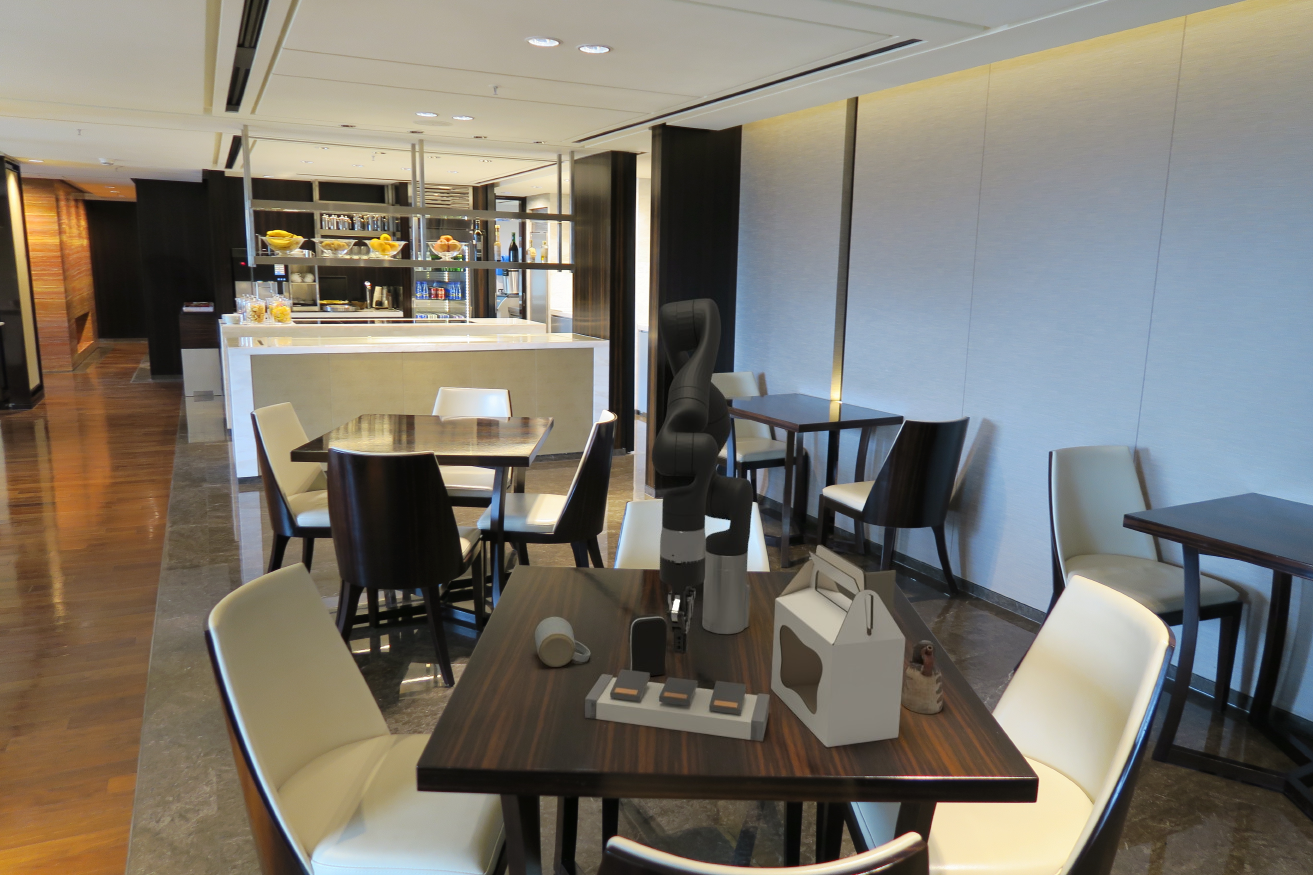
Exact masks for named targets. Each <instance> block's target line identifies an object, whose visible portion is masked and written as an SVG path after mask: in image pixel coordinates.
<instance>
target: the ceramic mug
mask: <svg viewBox="0 0 1313 875" xmlns="http://www.w3.org/2000/svg"><path fill="white" fill-rule="evenodd" d="M574 634H575V633H574V630H573V628H572V625H571V623H570V622H569V621H568V620H566V619H565V618H563V617H560V616H550V617H546V618H545V619H542V621H540V622H539V624H538V625H537V627H536V628H535V631H534V641H535V646H536V650H537V654H538V657H539V660H541V661H542V663H543V664H545V665H546V666H549V667H552V668H559V667H564V666H566V665H567V664H568V663H570V662H571V660H574V661H576V662H581V663H586V662H588V661H589V658H590V657H591V651H590V649H589V648H588V646H586V645H584V644H583V643H581V642H579V641H578V640H576V639H575V636H574ZM576 651H579V652H576Z"/></svg>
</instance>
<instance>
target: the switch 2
mask: <svg viewBox="0 0 1313 875" xmlns="http://www.w3.org/2000/svg"><path fill="white" fill-rule="evenodd" d="M713 690H714V691H713V694H712V698H711V701H710V705H709V711H717V712H724V713H732V714H740V715H741V711H742V707H743V702H744V697H745V694H747V693H746V692H747V684H745V683H736V682H729V681H728V682H727V681H723V680H722V681H720V680H715V685H714V687H713Z"/></svg>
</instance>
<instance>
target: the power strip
mask: <svg viewBox="0 0 1313 875" xmlns="http://www.w3.org/2000/svg"><path fill="white" fill-rule="evenodd" d="M616 679H617V677H614V674H605V673H602V674H601V675H600V676H599V678H598V680H597V681H596V682H595V684H594V685H593V687H592V688H591V690H590V691H589V692H588V693H587V695H586V696H585V698H584V718H585V719H586V718H587V719H595V720H602V721H609V722H616V723H622V724H631V725H637V726H638V725H639V726H646V727H653V728H661V729H668V730H675V731H682V732H689V733H697V734H705V735H712V736H719V737H720V736H721V737H725V738H726V737H727V738H734V739H742V740H750V741H754V742H755V741H757V742H764V737H765V734H766V728H767V723H768V721H769V720H768V718H769V714H770V700H771V699H770V698H771V695H770V694H768V693H767V694H766V693H759V692H758V693H757V695H756V694H749V693H745V697H744V702H743V707H742V711H741V715H740V714H732V713H724V712H717V711H709V705H710V701H711V698H712V694H713V691H714V689H709V688H701V687H697V688H696V691H695V693H694V696H693V699H692V701H691V704H690V706H688V705H680V704H673V703H665V702H659V696H660V693H661V691H662V689H663V687H664V685H665V683H659V682H653V681H648V683H647V686H646V688H645V691H644V693H643V696H642V698H641V701H632V700H624V699H617V698H610V692H611V690H612V688H613V685H614V683H615V681H616Z"/></svg>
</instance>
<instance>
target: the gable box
mask: <svg viewBox="0 0 1313 875" xmlns="http://www.w3.org/2000/svg"><path fill="white" fill-rule="evenodd" d="M808 552H809V555H810V556H809V558H808V560H806V562H804V563H803V565H802V566H801V567H800V568H799V570H798V571H796V573H795V574H794V576H793V577H792V578H791V579H790V581H789V582H788V583H787V585H786V586H785V587H784V588H783V590H781V593H779V595H778V596H777V597H775V600H774V622H773V642H772V643H773V644H772V663H771V682H770V684H771V685H770V688H771V690H772V692H774V694H776V695H777V697H779V699H780V700H781V701H782V702H783V703H784V704H785V705H786V706H787V707H788V708H789V709H790V710H791V711H792V712H793V714H794V715H795V716H796V717H798V719H799V720H800V721H801V722H802V723H803V724H804V726H805V727H807V728H808V730H809V731H811V733H813V735H814V736H815V737H816V738H817V739H818V740H819V741H820V743H822V744H823V745H824V747H825V748H832V747H840V746H846V745H855V744H861V743H868V742H869V743H870V742H876V741H882V740H889V739H890V740H891V739H897V738H899V732H900V731H899V730H900V718H901V705H902V703H901V693H902V687H903V680H904V664H905V649H906V636H905V635H904V634H903V632H902V631H901V629H900V627H899V625H898V624H897V622H896V621H895V620H894V617H893V618H892V616H891V615H890V613H889V612H888V610H887V608H886V607H885V605H884V604H883V602H882V600H881V599H880V597H879V596H878V594H877V593H876V592H874V591H872V590H867V583H866V573H867V572H866V571H865V570H864V569H863V568H861V567H859V566H858V565H857V564H855V563H853V562H851V561H849V560H848V559H846V558H844V557H843V556H841V555H839V554H838V553H836V552H835V551H833V550H832V549H829V548H828V547H826V546H824V545H823V544H817V546H816V551H815V553H814V552H813V551H811V550H808ZM834 581H836V582H837V583H839V584H840V585H842V586H843V587H845V588H846V589H848V590H849V591H851V592H852V593H854V594H855V597H854V599H853V601H852V600H850V599H849V598H847V597H846V596H844V595H843V594H841V593H839V591H838V588H837V586H836V584H835V582H834ZM868 634H869V635H868Z"/></svg>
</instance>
